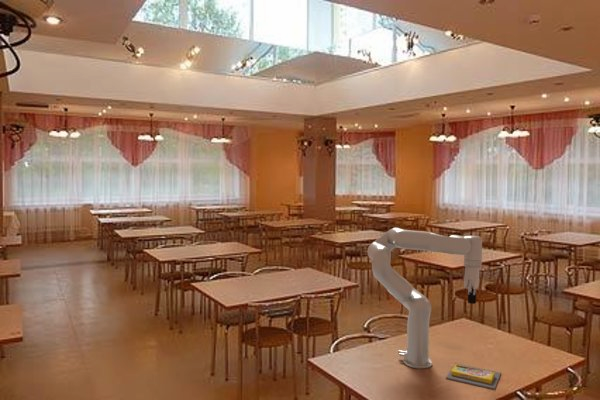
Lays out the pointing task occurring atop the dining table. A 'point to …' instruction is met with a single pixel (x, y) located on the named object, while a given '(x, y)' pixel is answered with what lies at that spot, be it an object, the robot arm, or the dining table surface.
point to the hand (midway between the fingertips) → (471, 303)
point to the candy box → (473, 373)
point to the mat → (474, 382)
